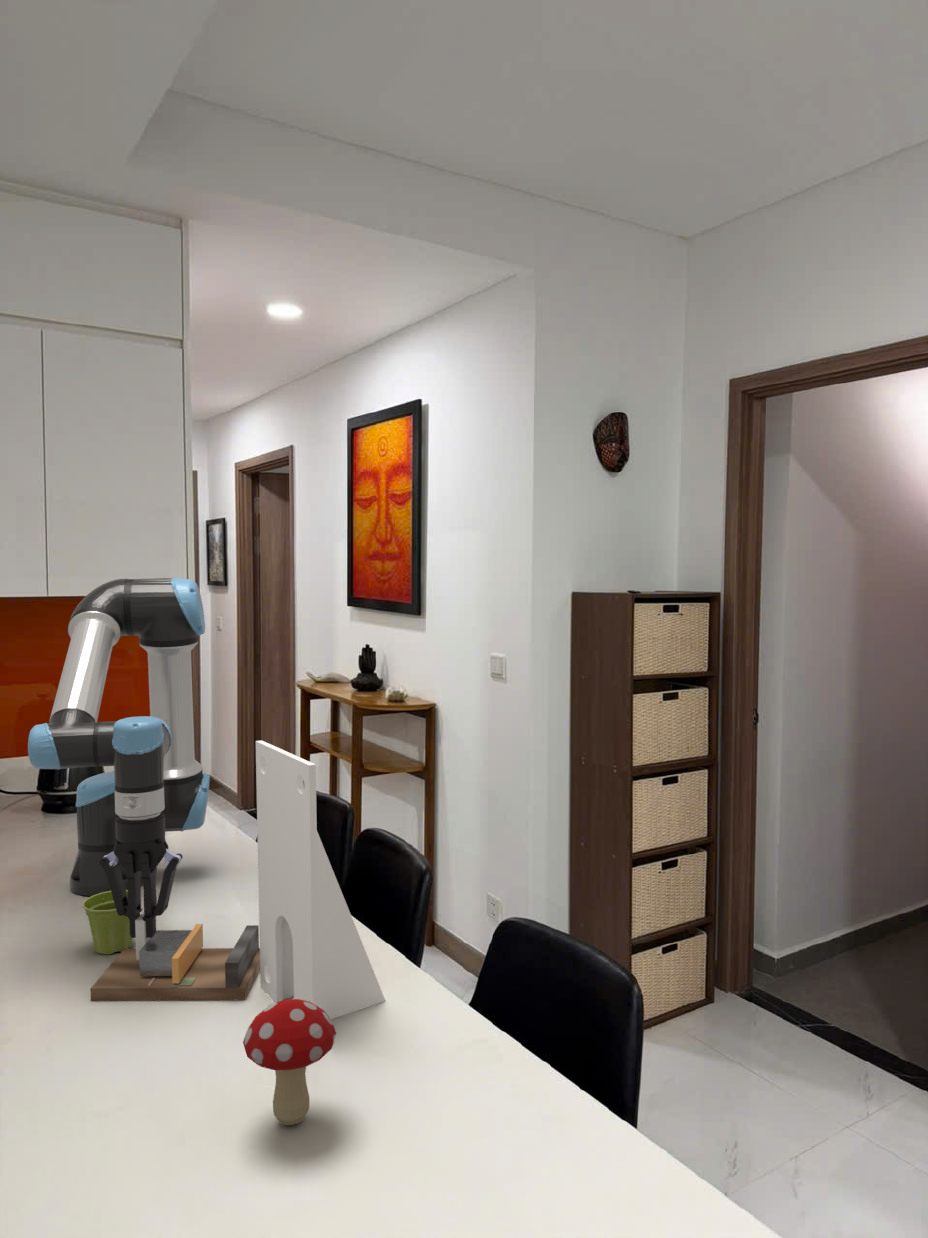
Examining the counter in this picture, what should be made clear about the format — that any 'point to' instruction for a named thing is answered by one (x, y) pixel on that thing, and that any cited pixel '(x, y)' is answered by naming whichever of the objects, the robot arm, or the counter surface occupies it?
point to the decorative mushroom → (289, 1051)
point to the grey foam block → (161, 952)
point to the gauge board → (186, 975)
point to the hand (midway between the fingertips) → (143, 956)
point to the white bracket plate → (303, 897)
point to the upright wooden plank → (187, 953)
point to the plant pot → (107, 924)
